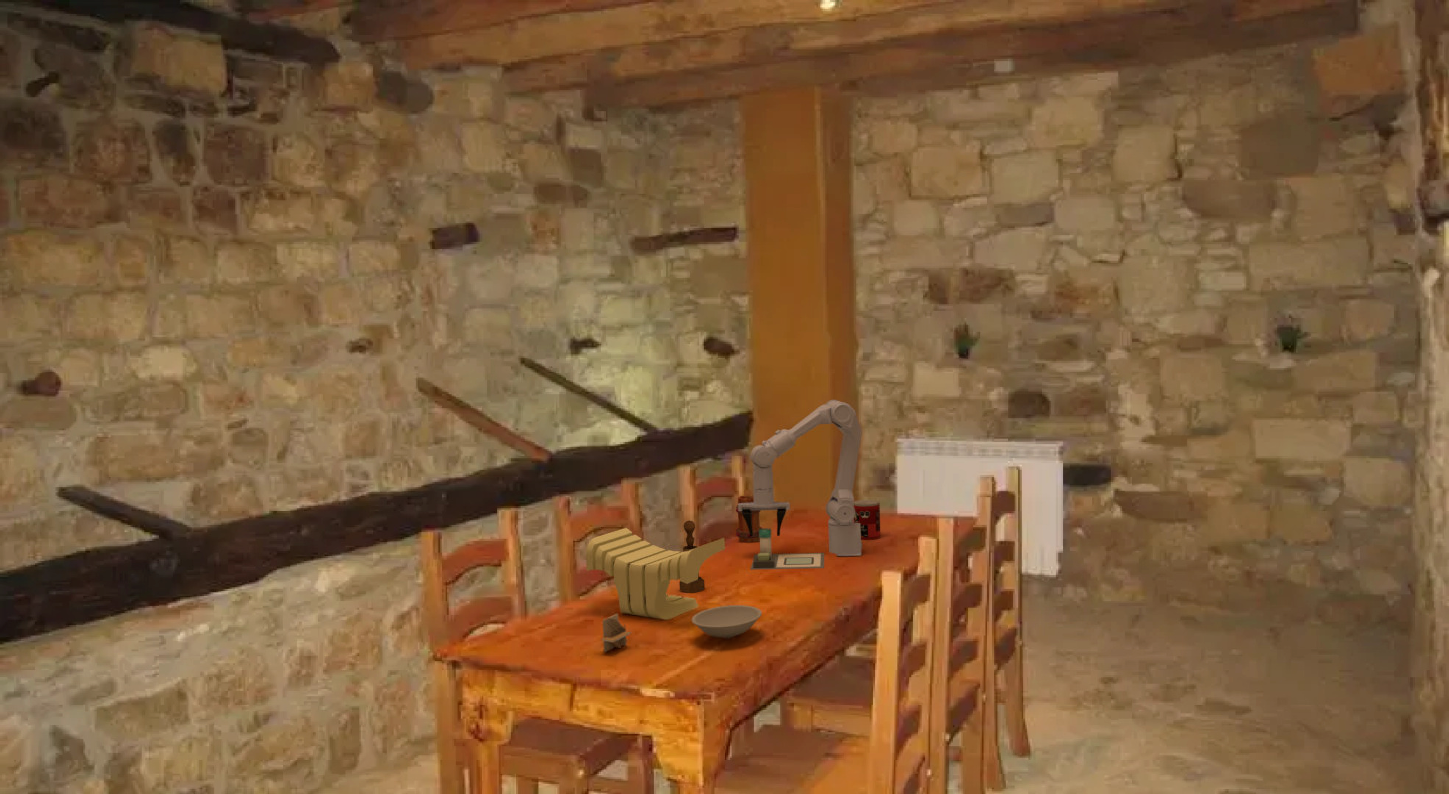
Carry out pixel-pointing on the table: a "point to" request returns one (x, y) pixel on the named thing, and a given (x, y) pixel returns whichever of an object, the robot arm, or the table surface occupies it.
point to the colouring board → (790, 561)
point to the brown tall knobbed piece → (689, 528)
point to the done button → (763, 557)
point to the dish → (727, 620)
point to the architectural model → (613, 633)
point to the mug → (743, 528)
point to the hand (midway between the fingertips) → (764, 535)
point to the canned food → (868, 518)
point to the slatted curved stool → (647, 572)
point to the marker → (765, 541)
